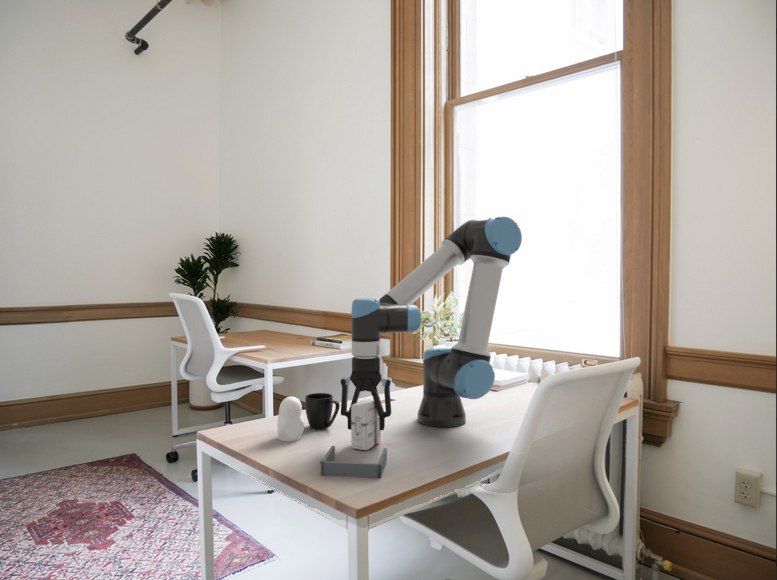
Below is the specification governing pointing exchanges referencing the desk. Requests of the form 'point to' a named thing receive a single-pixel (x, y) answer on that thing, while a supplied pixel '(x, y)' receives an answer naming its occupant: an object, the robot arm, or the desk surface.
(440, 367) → the robot arm
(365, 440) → the ink box
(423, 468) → the desk surface
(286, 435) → the figurine
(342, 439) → the desk surface
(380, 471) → the grey u-shaped frame
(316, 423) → the mug
